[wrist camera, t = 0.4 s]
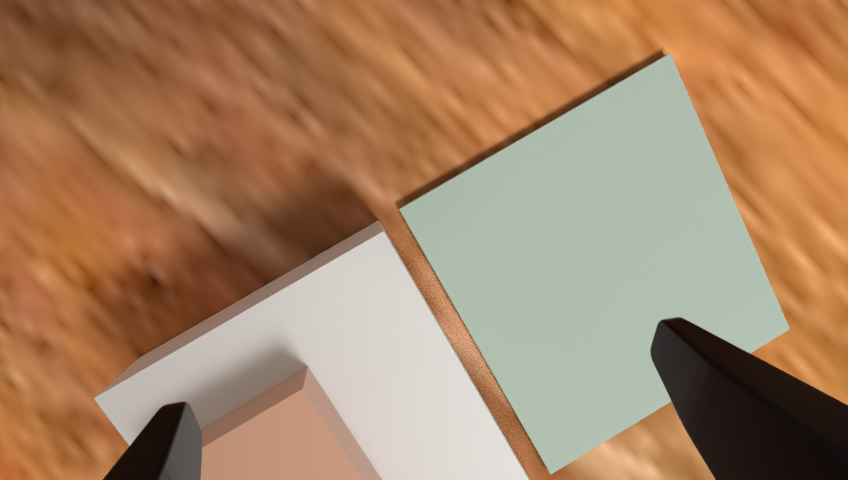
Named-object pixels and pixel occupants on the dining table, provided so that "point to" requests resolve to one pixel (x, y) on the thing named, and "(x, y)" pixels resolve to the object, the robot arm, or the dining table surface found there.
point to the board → (333, 365)
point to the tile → (284, 438)
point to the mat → (595, 259)
